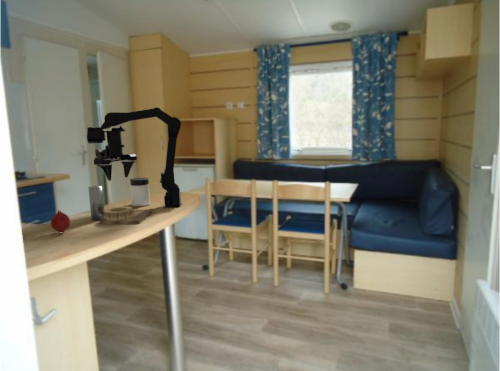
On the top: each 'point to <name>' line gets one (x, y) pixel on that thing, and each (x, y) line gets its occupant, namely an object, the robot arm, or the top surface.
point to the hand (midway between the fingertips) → (118, 179)
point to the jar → (139, 191)
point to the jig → (124, 215)
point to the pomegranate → (60, 222)
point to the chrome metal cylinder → (96, 202)
